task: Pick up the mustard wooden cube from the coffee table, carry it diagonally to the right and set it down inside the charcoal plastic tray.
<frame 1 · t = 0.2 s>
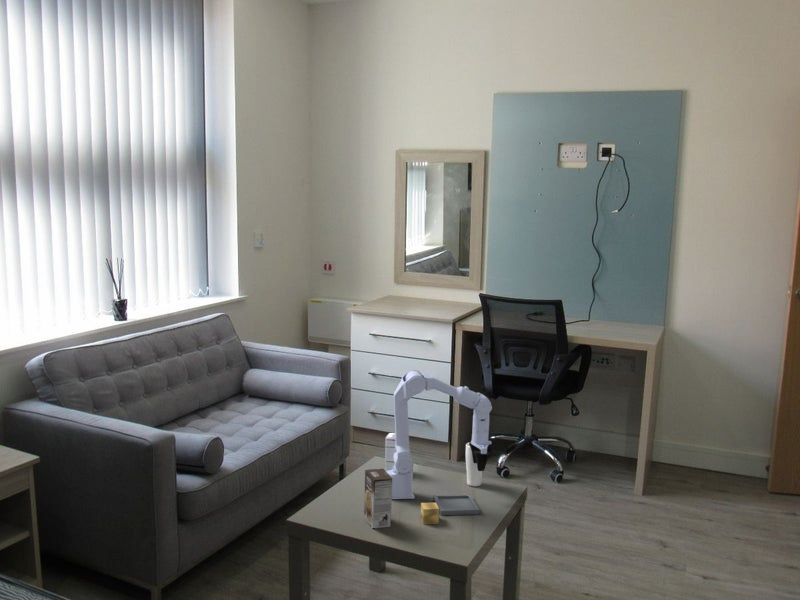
hand: (478, 466, 253), 10 cm above the table, tool pointing down, fingers open, 7 cm apart
syrup box: (393, 472, 272), on the table
cube: (429, 520, 231), on the table
tray: (455, 506, 242), on the table
drinking glass: (474, 484, 263), on the table
coffee box: (377, 522, 229), on the table
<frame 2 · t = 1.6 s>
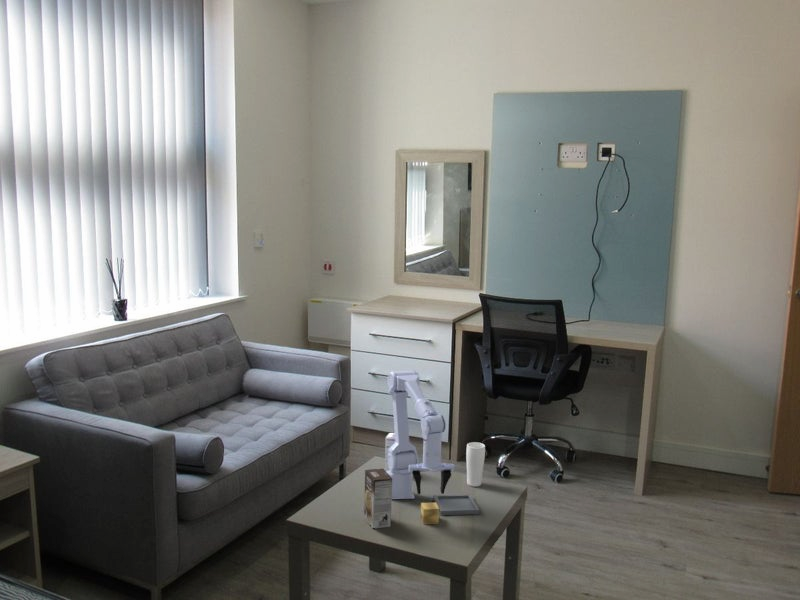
hand: (430, 492, 230), 9 cm above the table, tool pointing down, fingers open, 7 cm apart
nothing on the table moved.
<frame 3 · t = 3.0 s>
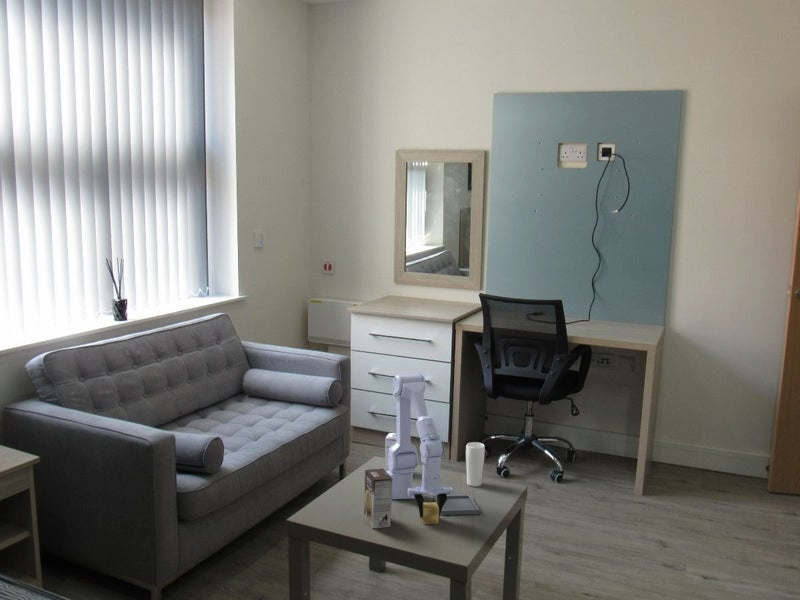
hand: (429, 516, 231), 1 cm above the table, tool pointing down, fingers closed on cube, 5 cm apart
cube: (429, 520, 231), on the table, touching gripper
everything else where it was.
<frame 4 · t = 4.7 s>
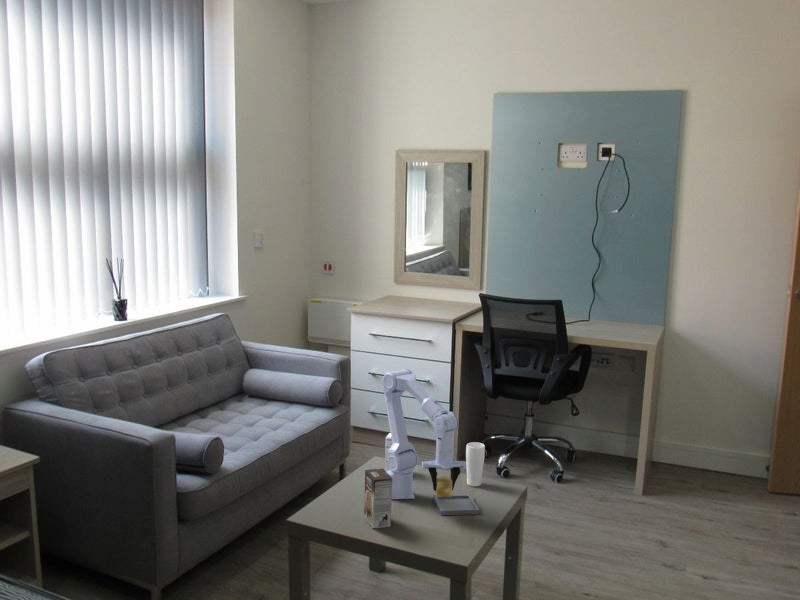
hand: (443, 489, 235), 8 cm above the table, tool pointing down, fingers closed on cube, 5 cm apart
cube: (442, 493, 235), point 7 cm above the table, touching gripper
everything else where it was.
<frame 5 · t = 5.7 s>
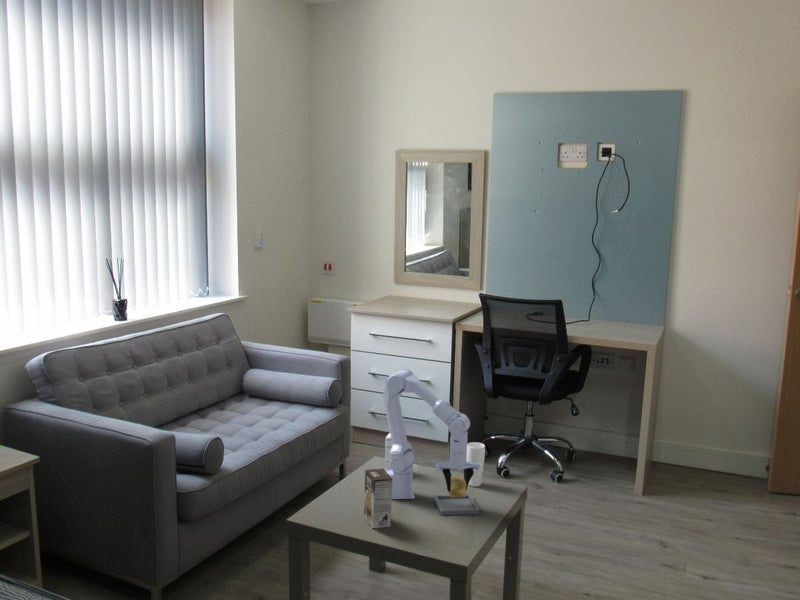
hand: (456, 489, 242), 6 cm above the table, tool pointing down, fingers closed on cube, 5 cm apart
cube: (456, 494, 242), point 4 cm above the table, touching gripper
everything else where it was.
when the fingers open (4 cm above the table, at t = 6.5 s): cube drops 2 cm, resting on tray.
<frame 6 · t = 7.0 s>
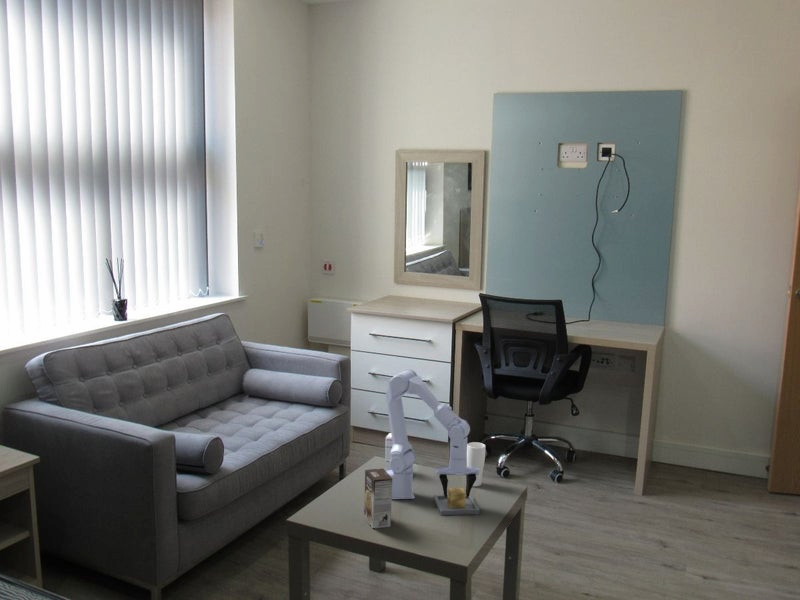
hand: (456, 495, 242), 4 cm above the table, tool pointing down, fingers open, 7 cm apart
cube: (456, 504, 242), point 1 cm above the table, touching tray
everything else where it was.
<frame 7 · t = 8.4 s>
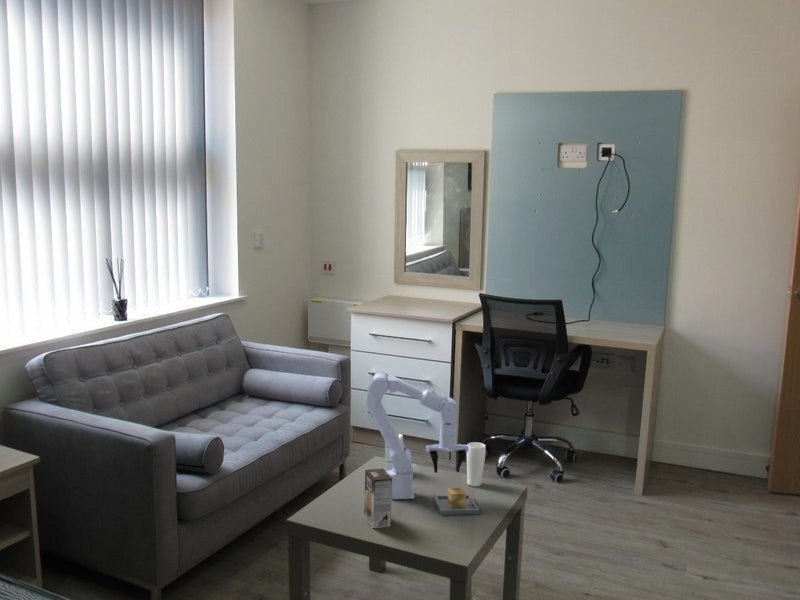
hand: (446, 471, 249), 9 cm above the table, tool pointing down, fingers open, 7 cm apart
nothing on the table moved.
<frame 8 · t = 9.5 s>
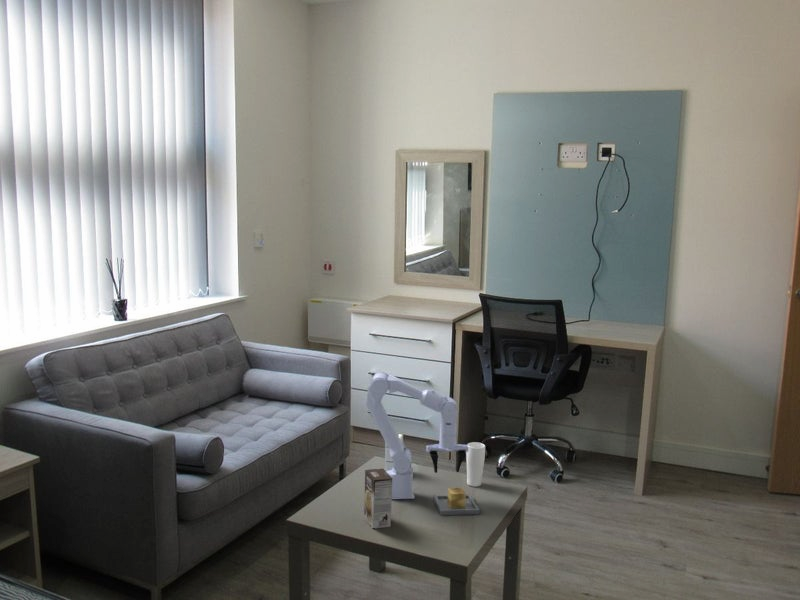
hand: (446, 471, 249), 9 cm above the table, tool pointing down, fingers open, 7 cm apart
nothing on the table moved.
at the end: cube inside the target area on the tray (0.1 cm from its centre), point 0.6 cm above the tray's base; cube tilted 0°; the gripper is holding nothing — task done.
